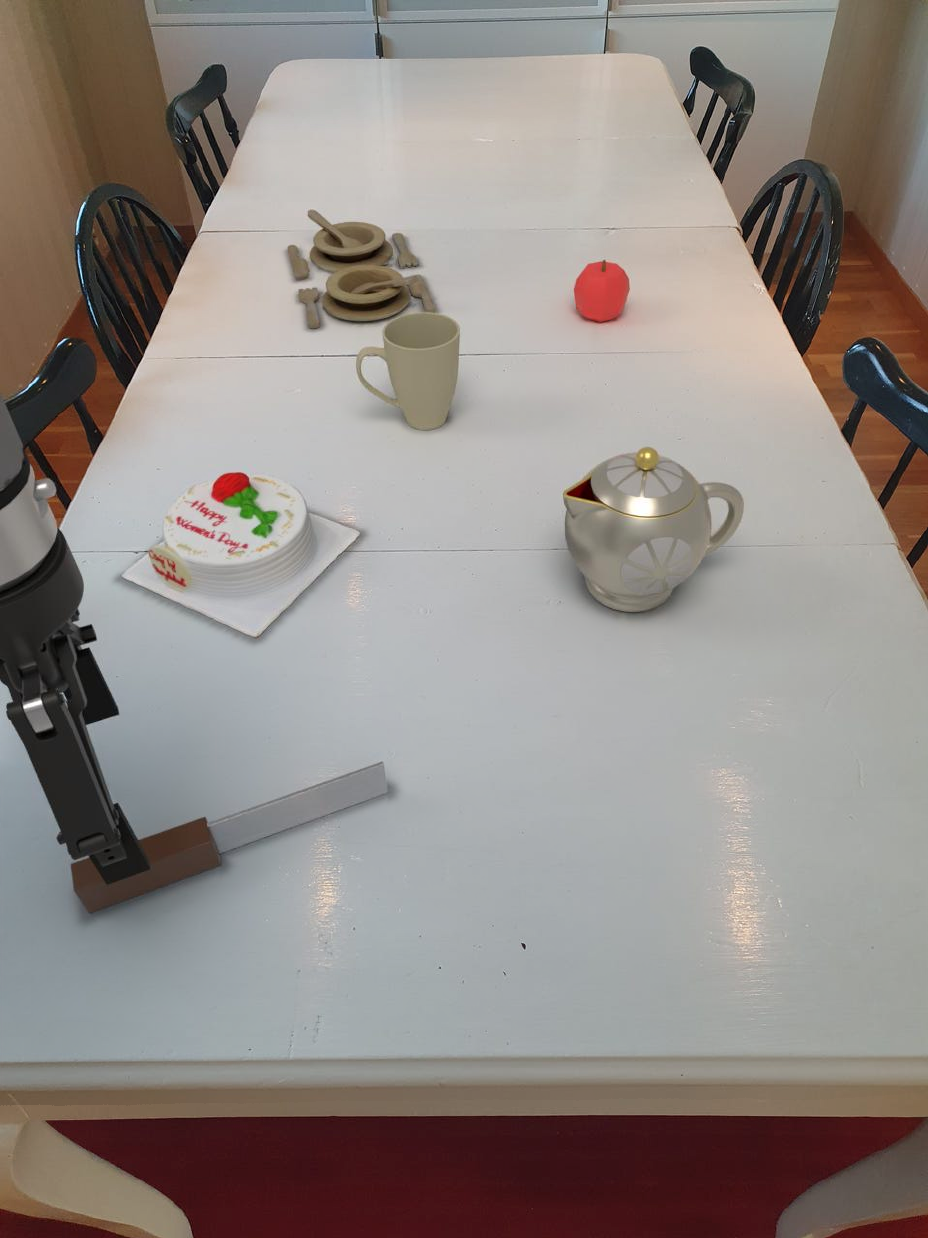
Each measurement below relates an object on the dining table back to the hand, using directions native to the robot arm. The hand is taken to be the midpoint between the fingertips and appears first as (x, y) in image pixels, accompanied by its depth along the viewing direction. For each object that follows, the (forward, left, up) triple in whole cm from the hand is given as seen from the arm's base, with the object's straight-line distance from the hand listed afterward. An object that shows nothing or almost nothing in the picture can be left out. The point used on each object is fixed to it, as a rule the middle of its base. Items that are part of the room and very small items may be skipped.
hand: (113, 789), depth 61 cm
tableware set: (+47, +91, -12) cm, 103 cm away
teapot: (+51, +13, -12) cm, 54 cm away
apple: (+75, +65, -12) cm, 100 cm away
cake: (+15, +34, -12) cm, 39 cm away
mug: (+41, +50, -12) cm, 66 cm away
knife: (+7, 0, -11) cm, 13 cm away
